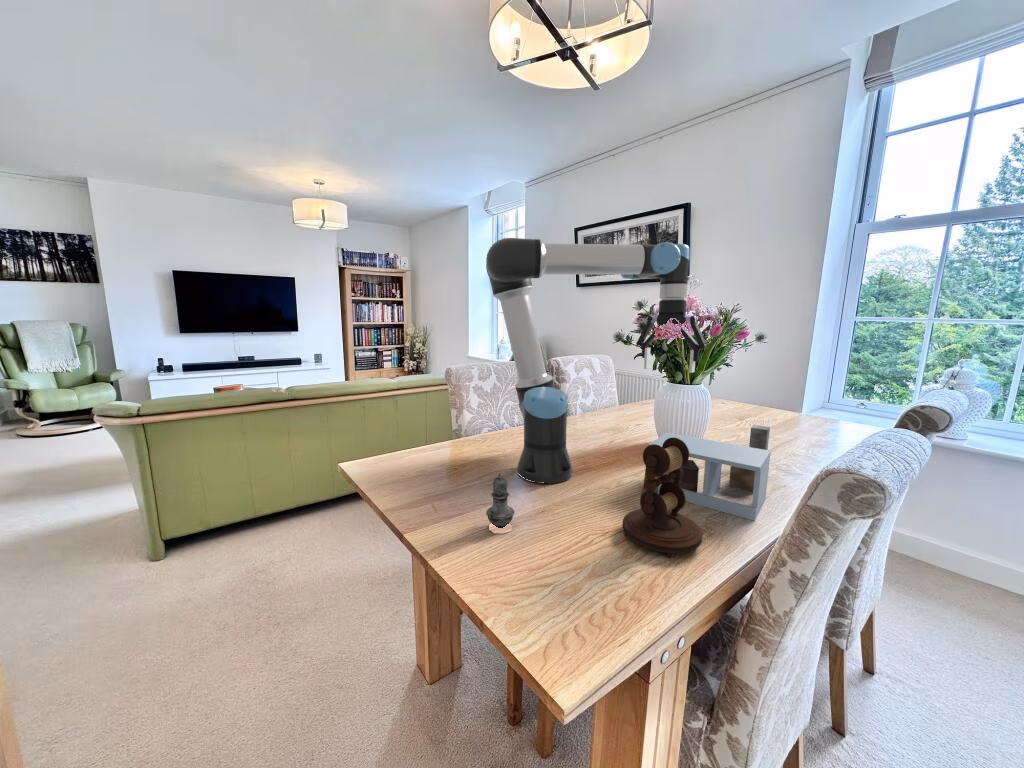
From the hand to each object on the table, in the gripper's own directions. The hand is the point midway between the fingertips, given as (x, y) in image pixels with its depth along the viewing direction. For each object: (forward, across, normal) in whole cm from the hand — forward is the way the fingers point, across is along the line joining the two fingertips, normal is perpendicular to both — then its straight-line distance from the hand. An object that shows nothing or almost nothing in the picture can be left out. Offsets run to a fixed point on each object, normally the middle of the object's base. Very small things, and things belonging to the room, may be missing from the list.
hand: (668, 370), depth 124 cm
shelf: (+27, -18, +23) cm, 40 cm away
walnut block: (+27, -25, +3) cm, 37 cm away
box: (+27, -13, +24) cm, 39 cm away
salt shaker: (+27, +10, +66) cm, 72 cm away
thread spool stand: (+27, -17, +49) cm, 59 cm away
